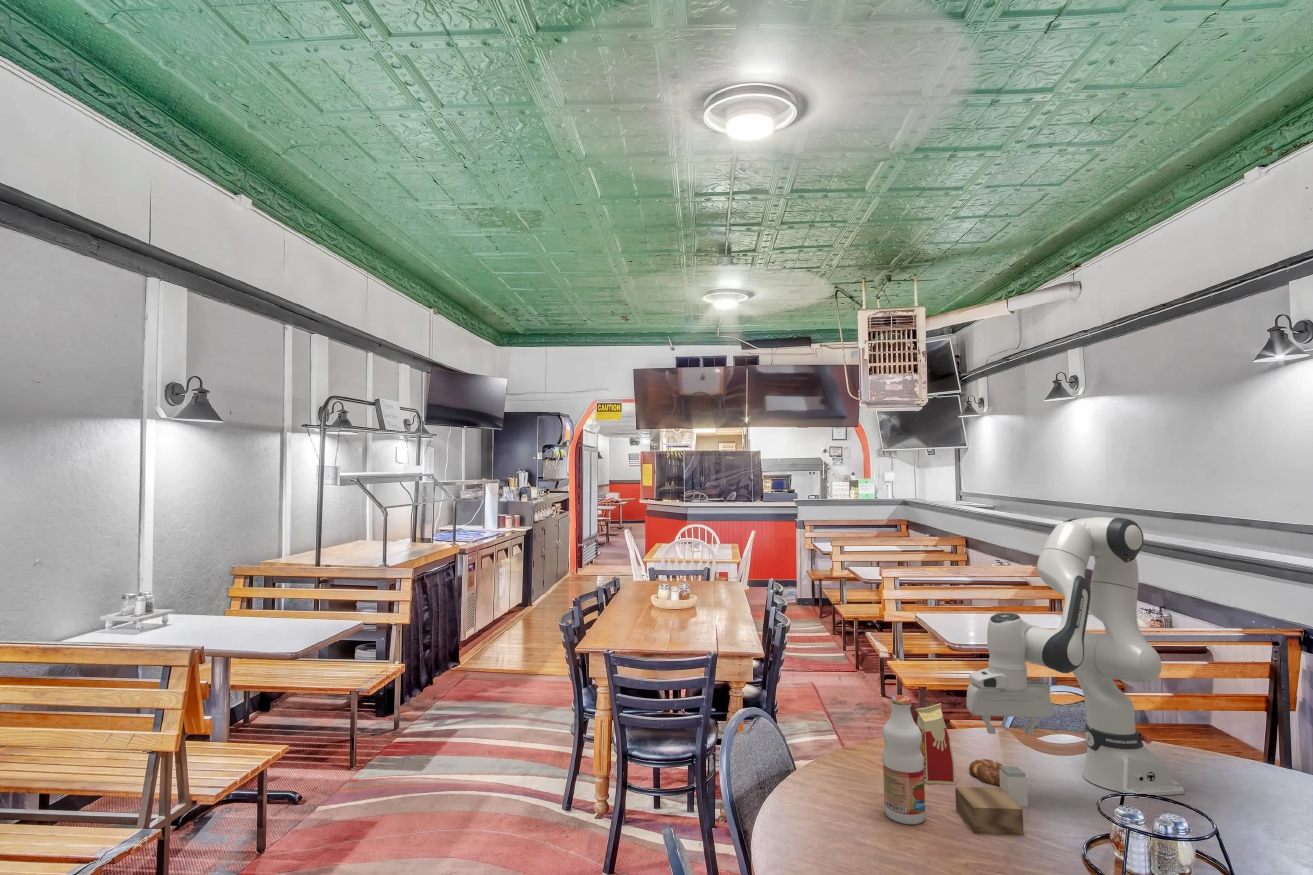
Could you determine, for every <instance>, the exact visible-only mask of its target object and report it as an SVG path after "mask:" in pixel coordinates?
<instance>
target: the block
mask: <svg viewBox="0 0 1313 875" xmlns="http://www.w3.org/2000/svg"><path fill="white" fill-rule="evenodd" d="M954 787H955V788H954V789H955V790H954V792H955V811H956V813H957V812H958V813H959V814H958V813H957V814H958V815H959V816H960V818H961V819H962V818H963V819H962V820H963V821H964V822H965V824H966V825H967V827H969V829H970V830H971V831H972V832H973V834H975V835H976V834H978V835H1004V836H1005V835H1007V836H1008V835H1010V836H1011V835H1012V836H1024V835H1025V832H1024V814H1023V813H1024V812H1023V807H1020V806H1019V805H1018V804H1017V803H1016V802H1015V801H1014V800H1013V799H1012V798H1011V797H1010V796H1009V795H1008V794H1006V793H1005V792H1004V791H1003V790H1002V789H1001V788H1000V787H985V786H984V787H981V786H978V787H977V786H974V787H973V786H954Z"/></svg>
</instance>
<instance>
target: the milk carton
mask: <svg viewBox="0 0 1313 875" xmlns="http://www.w3.org/2000/svg"><path fill="white" fill-rule="evenodd" d="M941 707H942V703H941V702H940V703H937V704H934V705H931V706H927V707H921V708H915V711H916V712H917V723H916V725H917V726H918V728H919V729H920V731H921V734H922V743H921V747H920V750H921V753H922V756H923V763H924V783H926V784H929V785H931V784H933V785H937V784H938V785H939V784H940V785H950V786H951V785H952V786H956V770H955V760H954V759H955V758H954V755H953V754H954V753H953V750H952V742H951V738H950V735H949V732H948V729H947V726H946V723H945V720H944V719H945V718H944V716H943V712H942V708H941Z"/></svg>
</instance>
